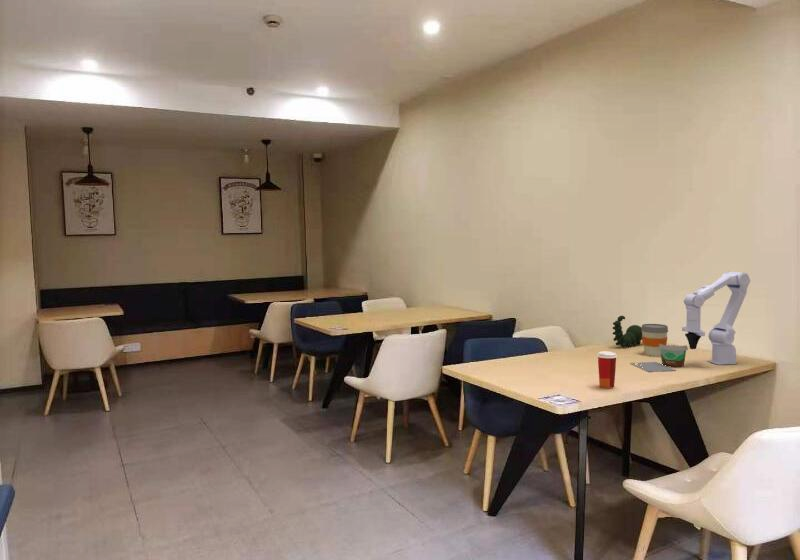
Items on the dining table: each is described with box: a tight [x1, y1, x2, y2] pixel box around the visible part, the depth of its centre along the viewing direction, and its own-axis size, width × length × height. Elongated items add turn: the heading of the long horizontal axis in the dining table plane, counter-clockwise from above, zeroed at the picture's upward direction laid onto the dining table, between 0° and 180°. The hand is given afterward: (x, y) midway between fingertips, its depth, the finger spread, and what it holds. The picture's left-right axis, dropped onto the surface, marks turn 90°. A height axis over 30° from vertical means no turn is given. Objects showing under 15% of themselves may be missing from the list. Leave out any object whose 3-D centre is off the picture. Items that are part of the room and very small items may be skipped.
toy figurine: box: [612, 315, 642, 348], centre depth 308 cm, size 9×19×25 cm
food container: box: [659, 344, 689, 368], centre depth 260 cm, size 12×6×10 cm, turn 62°
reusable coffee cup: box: [641, 323, 669, 357], centre depth 285 cm, size 13×13×15 cm
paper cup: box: [596, 350, 618, 389], centre depth 229 cm, size 8×8×14 cm
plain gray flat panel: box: [630, 361, 677, 373], centre depth 260 cm, size 13×17×1 cm
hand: (692, 348), depth 260 cm, fingers closed
